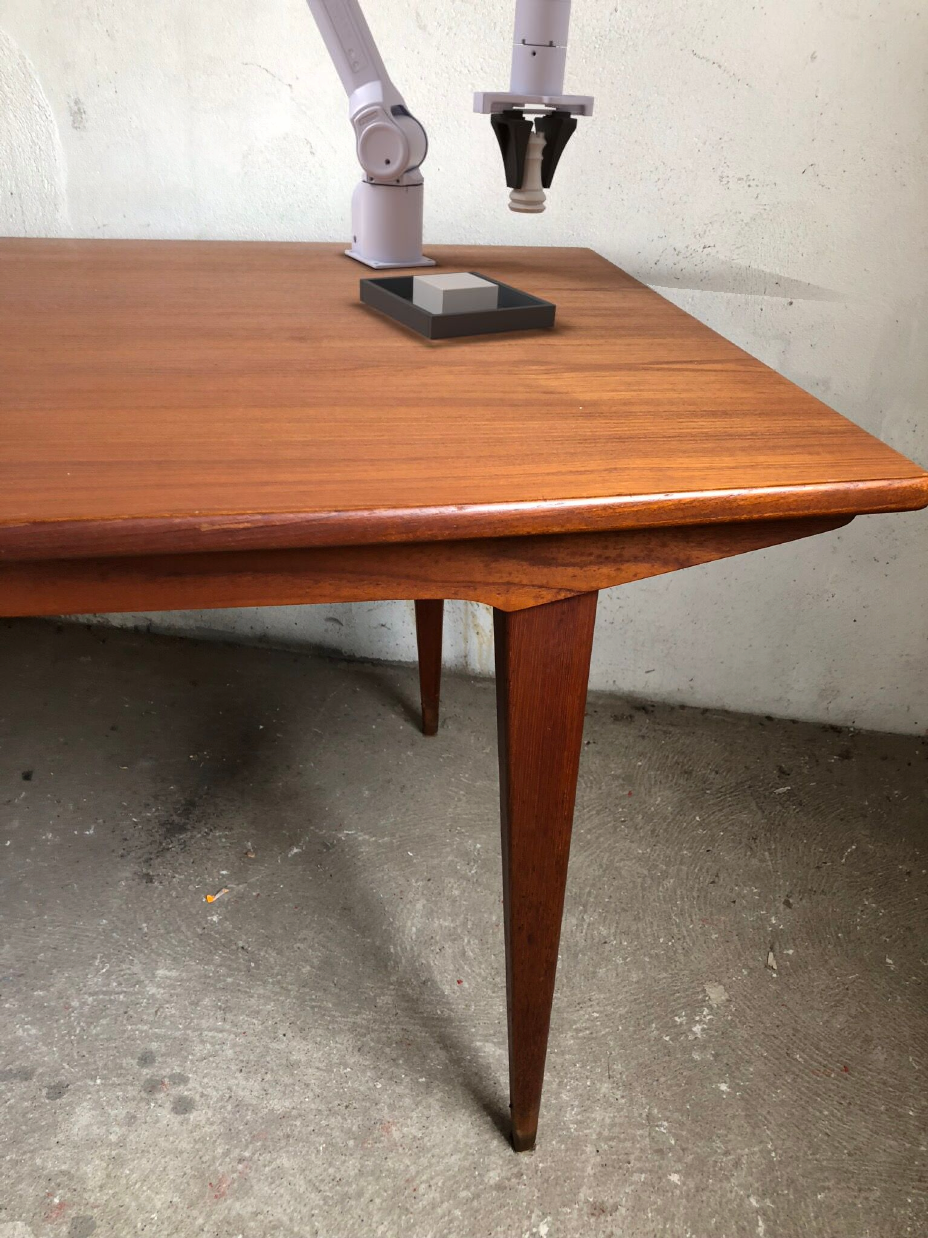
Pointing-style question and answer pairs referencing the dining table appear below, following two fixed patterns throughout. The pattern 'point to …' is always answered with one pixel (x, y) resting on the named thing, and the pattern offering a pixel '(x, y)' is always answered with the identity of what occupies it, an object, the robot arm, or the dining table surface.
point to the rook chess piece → (530, 179)
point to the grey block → (454, 293)
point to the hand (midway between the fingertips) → (528, 187)
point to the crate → (509, 316)
